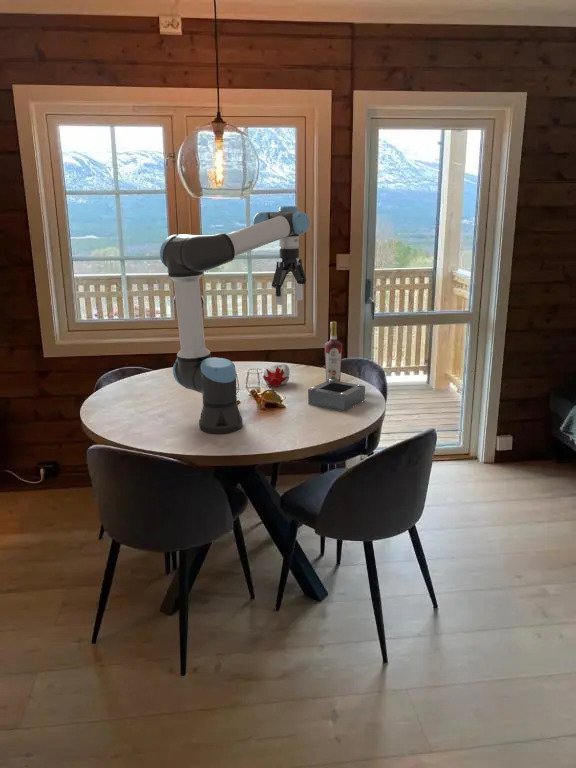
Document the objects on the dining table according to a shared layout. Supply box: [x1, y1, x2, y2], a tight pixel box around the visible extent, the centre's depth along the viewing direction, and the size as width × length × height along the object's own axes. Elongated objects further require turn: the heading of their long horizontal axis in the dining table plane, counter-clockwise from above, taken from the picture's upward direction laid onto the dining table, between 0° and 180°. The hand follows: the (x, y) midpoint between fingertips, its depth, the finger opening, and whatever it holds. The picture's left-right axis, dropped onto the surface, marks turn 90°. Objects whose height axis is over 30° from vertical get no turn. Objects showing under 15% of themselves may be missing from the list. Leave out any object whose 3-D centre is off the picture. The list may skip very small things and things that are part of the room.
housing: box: [307, 379, 366, 412], centre depth 227 cm, size 16×16×7 cm
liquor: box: [324, 321, 343, 382], centre depth 243 cm, size 7×7×28 cm
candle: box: [262, 363, 290, 388], centre depth 249 cm, size 9×11×15 cm
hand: (289, 302), depth 234 cm, fingers open, 13 cm apart
